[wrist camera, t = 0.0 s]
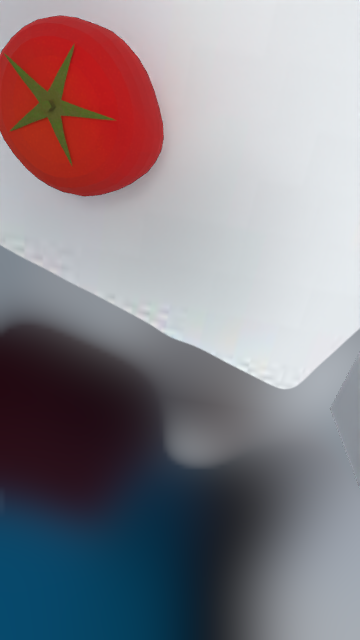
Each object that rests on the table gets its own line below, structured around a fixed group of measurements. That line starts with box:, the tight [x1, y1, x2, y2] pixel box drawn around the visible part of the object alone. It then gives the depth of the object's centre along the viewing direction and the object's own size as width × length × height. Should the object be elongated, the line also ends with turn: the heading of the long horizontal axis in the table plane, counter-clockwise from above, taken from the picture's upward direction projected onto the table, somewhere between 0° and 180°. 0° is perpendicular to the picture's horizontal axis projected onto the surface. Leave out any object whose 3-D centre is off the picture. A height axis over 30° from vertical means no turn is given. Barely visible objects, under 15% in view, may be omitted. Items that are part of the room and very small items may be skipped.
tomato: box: [0, 16, 164, 196], centre depth 26 cm, size 13×11×14 cm
